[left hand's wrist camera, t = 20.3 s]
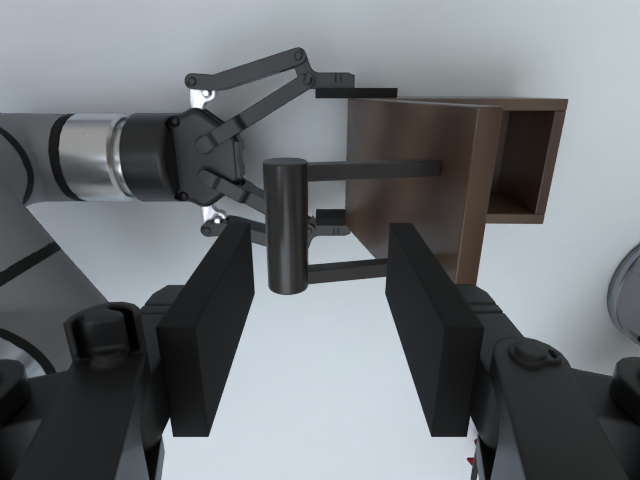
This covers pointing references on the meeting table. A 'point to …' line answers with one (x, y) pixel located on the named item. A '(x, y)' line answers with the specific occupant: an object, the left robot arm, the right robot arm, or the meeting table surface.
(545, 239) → the meeting table surface
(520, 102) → the chest
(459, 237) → the lid
